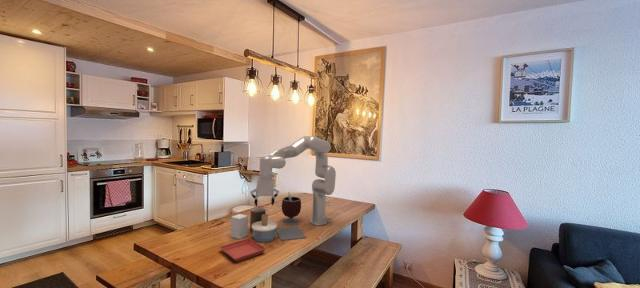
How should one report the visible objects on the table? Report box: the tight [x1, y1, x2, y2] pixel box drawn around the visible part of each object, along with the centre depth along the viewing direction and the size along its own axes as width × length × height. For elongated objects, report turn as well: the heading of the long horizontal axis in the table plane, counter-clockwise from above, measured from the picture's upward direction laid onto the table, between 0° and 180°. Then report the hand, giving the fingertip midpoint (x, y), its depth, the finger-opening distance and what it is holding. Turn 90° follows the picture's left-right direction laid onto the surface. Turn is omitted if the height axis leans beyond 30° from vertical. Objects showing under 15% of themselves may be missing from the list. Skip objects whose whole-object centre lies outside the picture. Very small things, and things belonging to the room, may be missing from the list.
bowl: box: [252, 229, 277, 243], centre depth 163 cm, size 13×13×7 cm
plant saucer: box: [219, 238, 266, 263], centre depth 143 cm, size 18×18×3 cm
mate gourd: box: [281, 191, 302, 226], centre depth 193 cm, size 16×14×20 cm
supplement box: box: [230, 213, 249, 240], centre depth 164 cm, size 7×7×13 cm
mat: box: [276, 225, 308, 242], centre depth 172 cm, size 16×20×1 cm
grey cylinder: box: [249, 207, 266, 233], centre depth 175 cm, size 10×10×15 cm
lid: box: [252, 213, 278, 232], centre depth 163 cm, size 15×15×8 cm
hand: (264, 205), depth 162 cm, fingers open, 9 cm apart
